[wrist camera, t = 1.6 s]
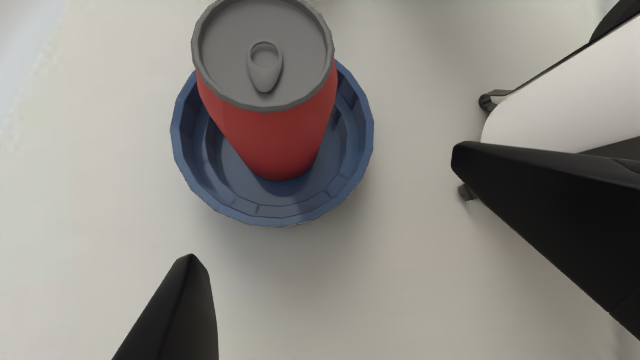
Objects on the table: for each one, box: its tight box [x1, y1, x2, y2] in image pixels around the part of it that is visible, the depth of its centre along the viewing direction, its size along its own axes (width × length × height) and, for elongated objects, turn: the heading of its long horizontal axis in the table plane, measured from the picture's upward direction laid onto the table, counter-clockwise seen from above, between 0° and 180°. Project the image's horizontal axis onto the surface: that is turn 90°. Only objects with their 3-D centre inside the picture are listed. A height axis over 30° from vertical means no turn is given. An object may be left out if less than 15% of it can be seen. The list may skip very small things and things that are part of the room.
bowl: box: [170, 59, 374, 228], centre depth 20 cm, size 14×14×4 cm
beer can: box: [191, 0, 338, 181], centre depth 16 cm, size 7×7×12 cm
